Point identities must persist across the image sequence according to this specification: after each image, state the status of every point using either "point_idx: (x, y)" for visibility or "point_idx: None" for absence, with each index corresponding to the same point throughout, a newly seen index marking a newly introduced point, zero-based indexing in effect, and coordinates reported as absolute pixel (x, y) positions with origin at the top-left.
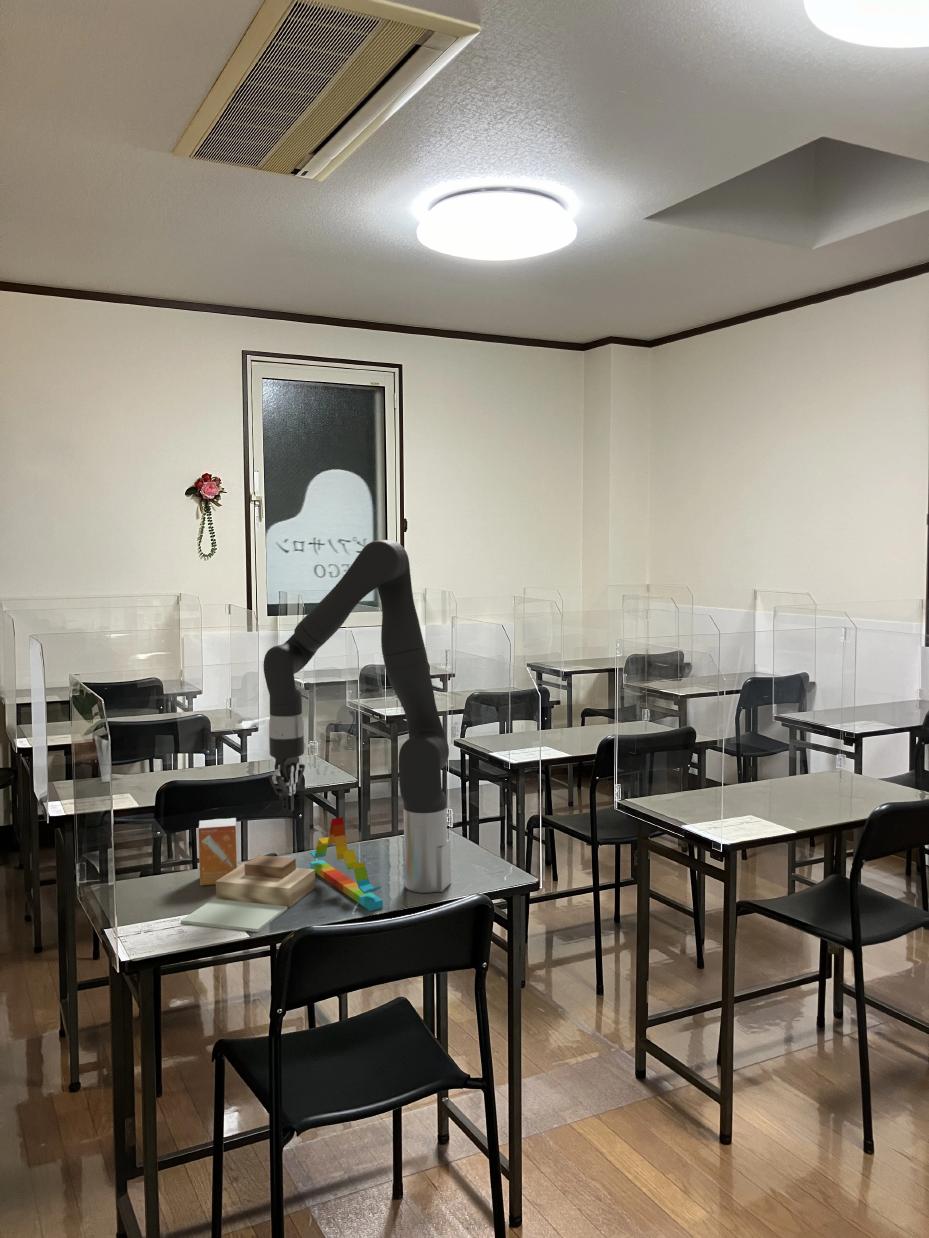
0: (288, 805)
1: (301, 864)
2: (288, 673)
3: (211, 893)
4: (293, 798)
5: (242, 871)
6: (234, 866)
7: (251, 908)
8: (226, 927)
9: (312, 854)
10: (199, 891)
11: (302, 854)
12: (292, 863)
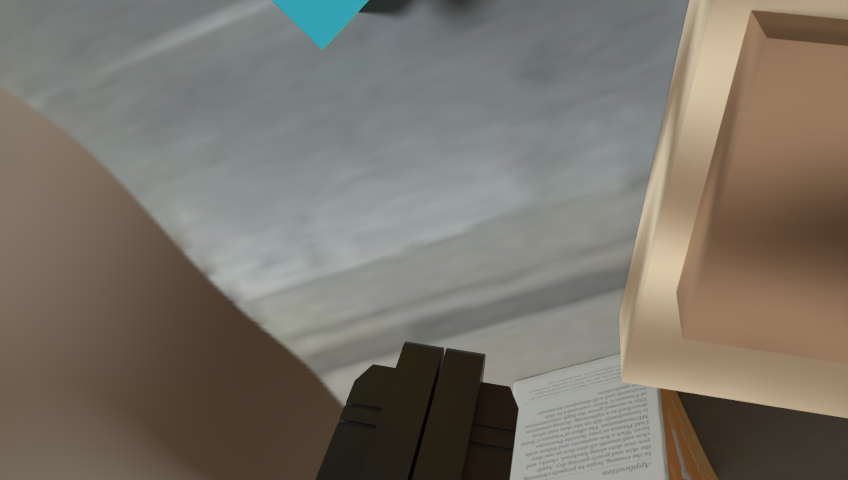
0: (497, 427)
1: (289, 102)
2: None
3: None
4: (385, 443)
5: None
6: (668, 416)
7: None
8: None
9: (353, 15)
10: (799, 464)
11: (130, 156)
12: (826, 37)
